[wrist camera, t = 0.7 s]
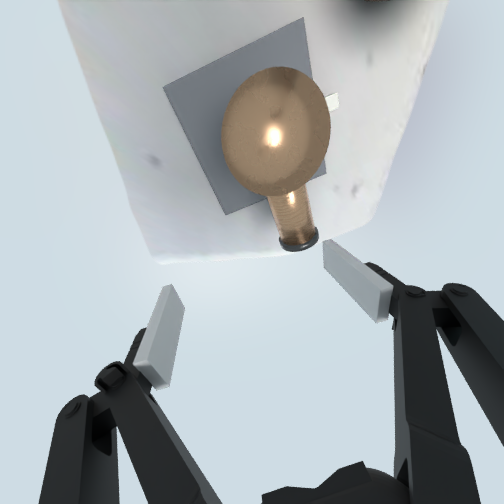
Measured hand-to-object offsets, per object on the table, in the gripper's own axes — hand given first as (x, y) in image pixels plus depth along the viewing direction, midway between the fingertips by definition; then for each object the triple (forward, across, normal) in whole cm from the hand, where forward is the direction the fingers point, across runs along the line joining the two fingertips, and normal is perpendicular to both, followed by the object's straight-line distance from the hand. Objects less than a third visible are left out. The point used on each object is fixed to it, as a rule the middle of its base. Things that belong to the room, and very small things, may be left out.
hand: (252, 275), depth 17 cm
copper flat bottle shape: (+19, +8, +5) cm, 21 cm away
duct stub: (+29, +10, +11) cm, 33 cm away
